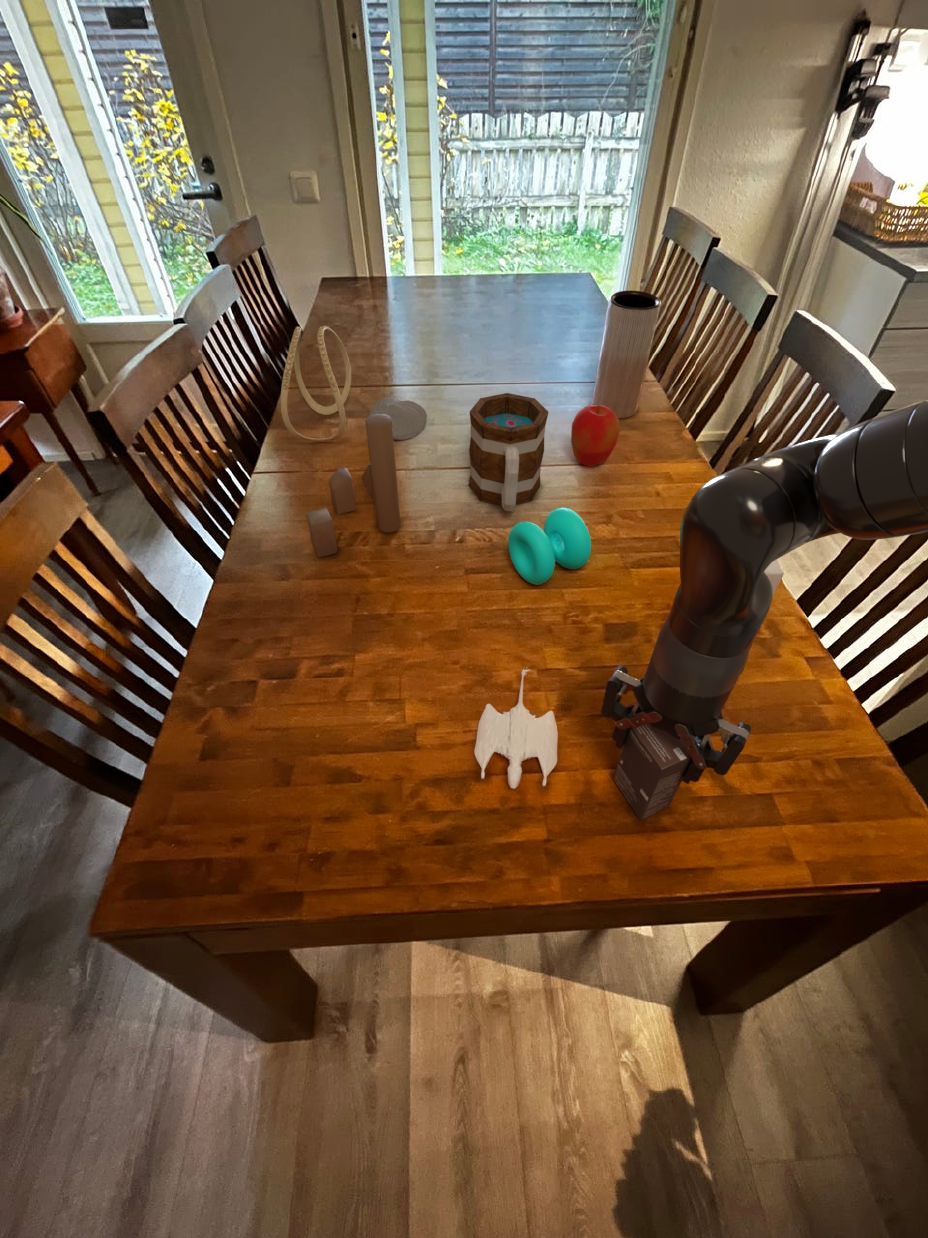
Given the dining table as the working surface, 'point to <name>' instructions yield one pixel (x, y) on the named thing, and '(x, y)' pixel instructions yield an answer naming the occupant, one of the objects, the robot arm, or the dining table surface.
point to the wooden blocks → (376, 479)
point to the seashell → (402, 416)
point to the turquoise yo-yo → (549, 545)
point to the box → (650, 769)
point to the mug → (506, 449)
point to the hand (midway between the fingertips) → (654, 759)
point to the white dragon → (517, 738)
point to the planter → (625, 350)
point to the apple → (594, 434)
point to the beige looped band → (294, 355)
